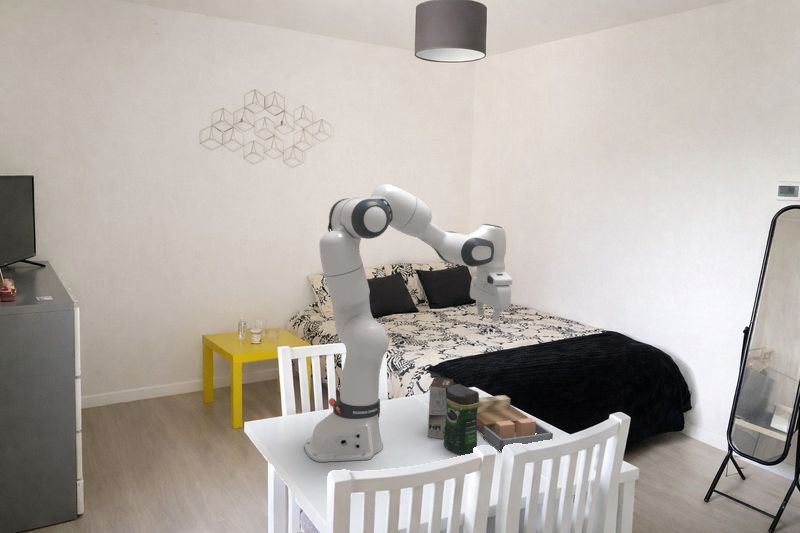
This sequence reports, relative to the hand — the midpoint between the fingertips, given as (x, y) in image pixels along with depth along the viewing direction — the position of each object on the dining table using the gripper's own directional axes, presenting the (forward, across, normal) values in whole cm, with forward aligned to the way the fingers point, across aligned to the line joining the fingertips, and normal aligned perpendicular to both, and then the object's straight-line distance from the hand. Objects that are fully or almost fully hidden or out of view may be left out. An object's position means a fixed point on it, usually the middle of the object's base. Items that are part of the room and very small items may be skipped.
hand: (487, 317), depth 202 cm
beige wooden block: (+30, +2, +2) cm, 30 cm away
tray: (+34, +18, +2) cm, 39 cm away
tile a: (+31, +15, -2) cm, 35 cm away
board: (+34, +6, +2) cm, 34 cm away
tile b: (+31, +16, +6) cm, 35 cm away
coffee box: (+34, +6, -18) cm, 39 cm away
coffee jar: (+34, +18, -17) cm, 42 cm away
